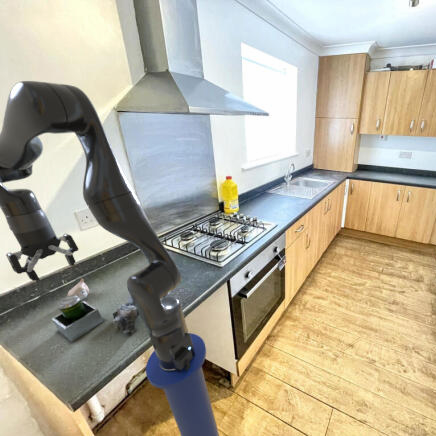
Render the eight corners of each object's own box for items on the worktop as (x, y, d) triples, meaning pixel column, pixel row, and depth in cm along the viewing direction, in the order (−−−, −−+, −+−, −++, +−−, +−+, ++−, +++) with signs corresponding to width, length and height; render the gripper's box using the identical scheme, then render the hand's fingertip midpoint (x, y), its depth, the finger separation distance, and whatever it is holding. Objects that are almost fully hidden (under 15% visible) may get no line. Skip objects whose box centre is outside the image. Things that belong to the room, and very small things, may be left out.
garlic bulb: (92, 298, 94) (84, 283, 90) (71, 307, 90) (62, 291, 86) (90, 290, 98) (83, 275, 95) (70, 298, 94) (62, 282, 91)
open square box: (103, 321, 83) (97, 308, 81) (72, 341, 76) (65, 328, 73) (89, 312, 87) (83, 300, 85) (58, 331, 80) (51, 318, 77)
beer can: (93, 317, 85) (80, 292, 80) (89, 329, 80) (75, 303, 75) (74, 323, 83) (60, 297, 78) (69, 335, 78) (54, 308, 73)
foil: (161, 296, 90) (128, 305, 75) (154, 325, 89) (119, 339, 74) (136, 290, 92) (99, 297, 78) (129, 318, 91) (90, 331, 76)
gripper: (-1, 239, 59) (29, 290, 65) (68, 219, 70) (88, 263, 77) (-12, 233, 62) (18, 282, 69) (56, 214, 73) (76, 257, 80)
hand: (55, 272), depth 73 cm, fingers open, 8 cm apart
